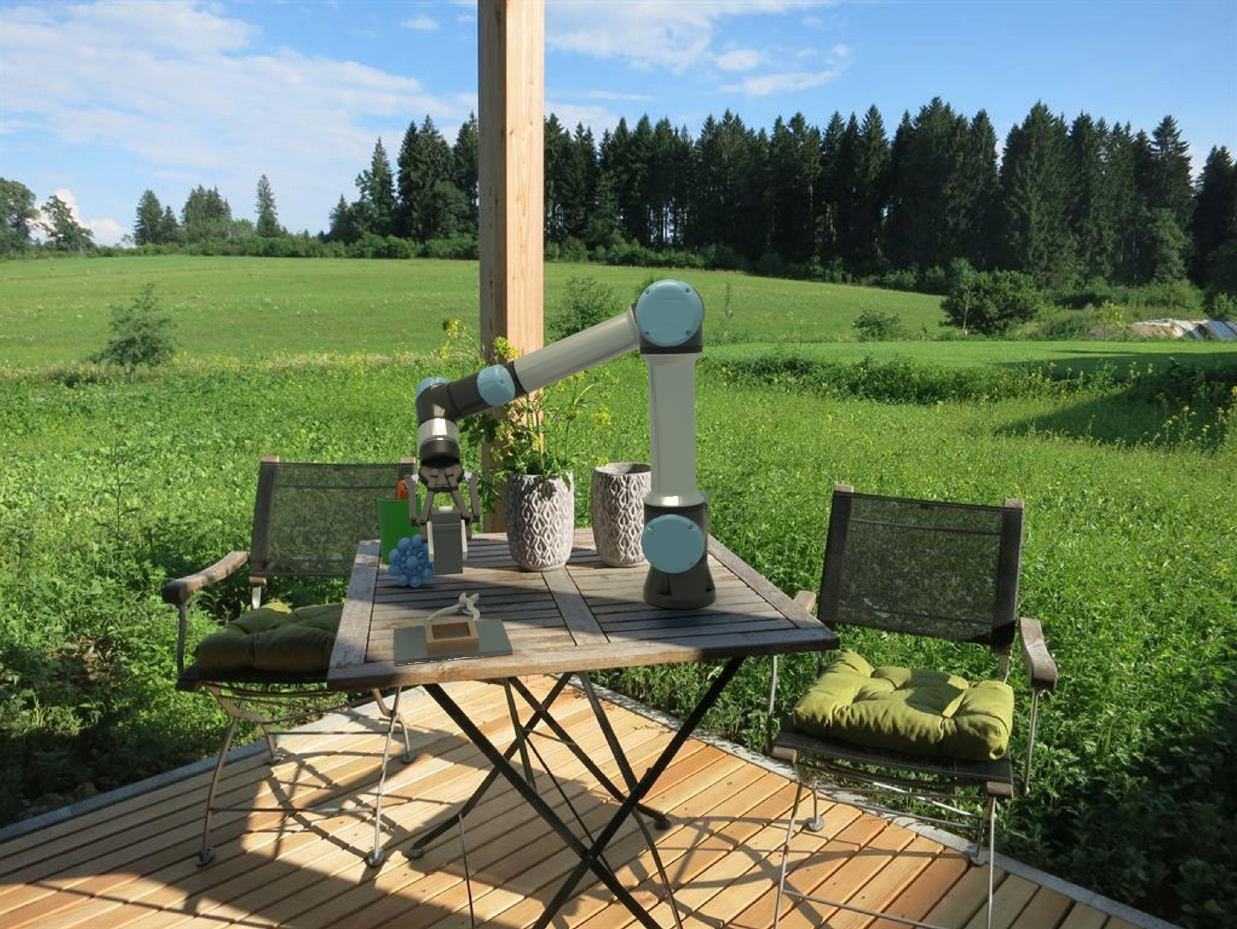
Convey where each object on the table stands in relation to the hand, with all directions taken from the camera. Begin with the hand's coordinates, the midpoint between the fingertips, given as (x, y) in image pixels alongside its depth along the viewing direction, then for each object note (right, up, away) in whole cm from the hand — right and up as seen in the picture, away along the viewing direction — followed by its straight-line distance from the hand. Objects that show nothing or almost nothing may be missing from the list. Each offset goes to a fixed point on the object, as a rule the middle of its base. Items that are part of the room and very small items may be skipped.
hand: (448, 556), depth 155 cm
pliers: (-2, -14, +25) cm, 29 cm away
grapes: (-15, -11, +41) cm, 44 cm away
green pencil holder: (-22, -7, +61) cm, 65 cm away
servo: (-1, -3, +4) cm, 5 cm away
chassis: (-1, -16, +6) cm, 18 cm away
